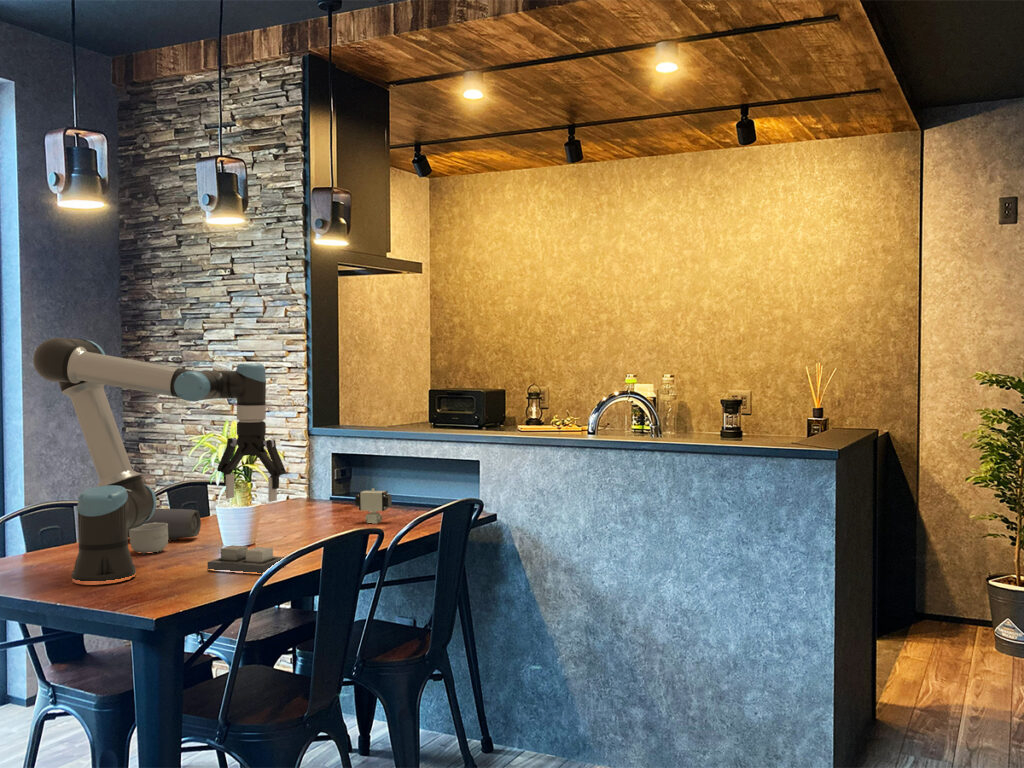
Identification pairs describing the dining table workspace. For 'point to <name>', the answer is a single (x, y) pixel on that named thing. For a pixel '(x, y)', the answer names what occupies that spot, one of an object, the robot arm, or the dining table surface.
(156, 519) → the bluetooth speaker
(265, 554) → the beige cube
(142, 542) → the teacup
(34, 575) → the dining table surface
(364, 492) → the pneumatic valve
